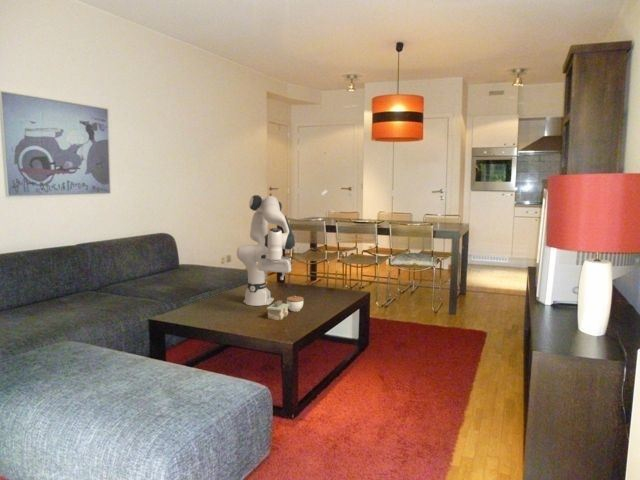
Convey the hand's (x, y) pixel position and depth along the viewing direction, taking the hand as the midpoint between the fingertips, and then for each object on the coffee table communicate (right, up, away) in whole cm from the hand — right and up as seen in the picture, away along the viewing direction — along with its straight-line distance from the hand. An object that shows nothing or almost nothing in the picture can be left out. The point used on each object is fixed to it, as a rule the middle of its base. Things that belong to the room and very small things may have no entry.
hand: (274, 279), depth 293 cm
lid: (+2, -17, +3) cm, 17 cm away
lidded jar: (+11, -21, +19) cm, 31 cm away
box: (+2, -23, +4) cm, 23 cm away
